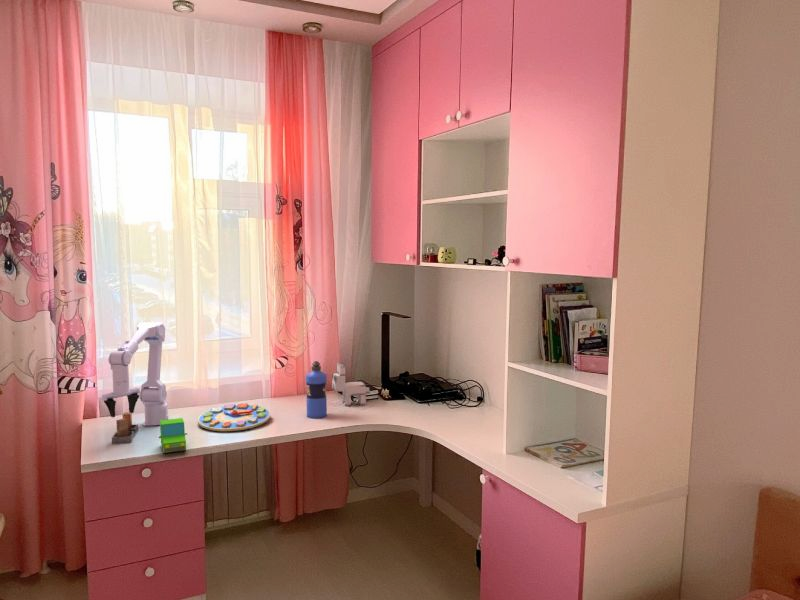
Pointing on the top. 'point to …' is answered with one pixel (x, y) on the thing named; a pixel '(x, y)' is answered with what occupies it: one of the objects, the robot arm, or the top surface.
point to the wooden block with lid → (122, 427)
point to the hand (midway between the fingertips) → (122, 414)
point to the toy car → (172, 435)
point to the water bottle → (316, 392)
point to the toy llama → (348, 387)
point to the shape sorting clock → (234, 417)
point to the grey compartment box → (131, 431)
